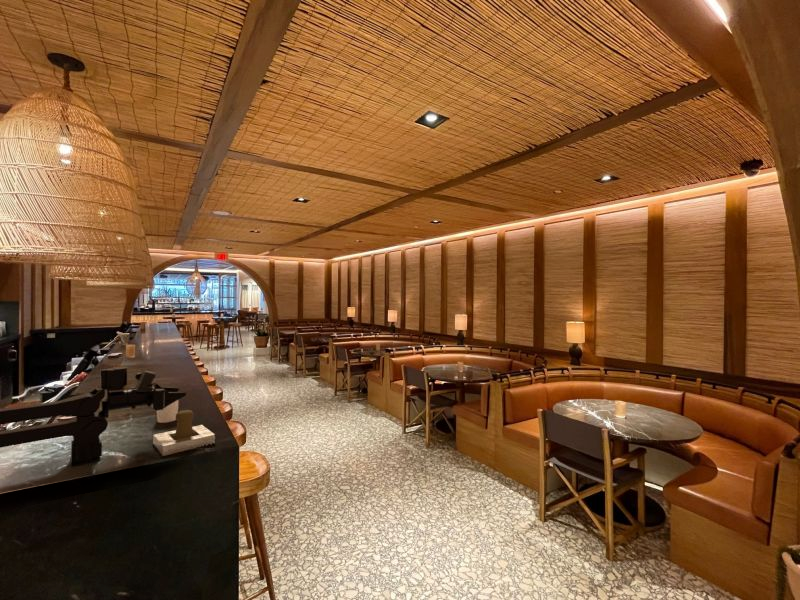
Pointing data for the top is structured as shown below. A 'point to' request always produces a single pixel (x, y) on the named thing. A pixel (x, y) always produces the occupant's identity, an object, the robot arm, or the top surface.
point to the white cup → (168, 413)
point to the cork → (184, 424)
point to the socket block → (182, 440)
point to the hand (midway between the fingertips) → (182, 391)
